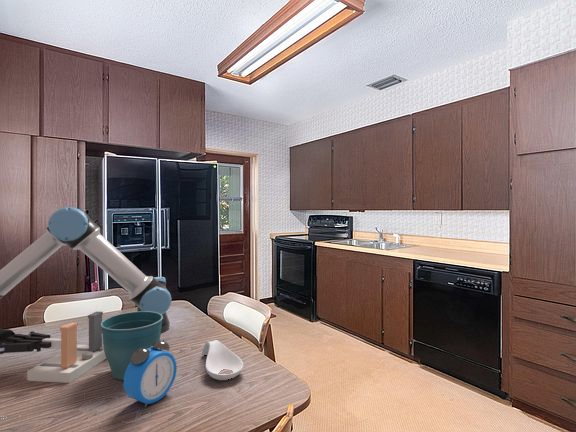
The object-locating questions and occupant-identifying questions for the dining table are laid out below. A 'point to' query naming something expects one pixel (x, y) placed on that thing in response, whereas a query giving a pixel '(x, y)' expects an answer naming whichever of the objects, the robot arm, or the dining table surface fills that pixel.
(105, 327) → the flower pot
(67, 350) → the terracotta paddle
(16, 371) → the dining table surface
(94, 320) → the gray capped upright block
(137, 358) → the alarm clock
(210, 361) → the spoon rest
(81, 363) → the console
